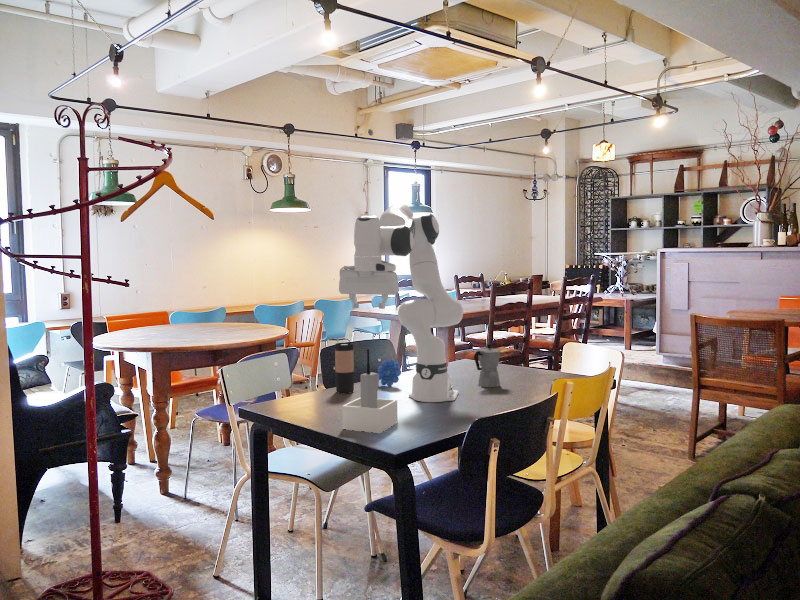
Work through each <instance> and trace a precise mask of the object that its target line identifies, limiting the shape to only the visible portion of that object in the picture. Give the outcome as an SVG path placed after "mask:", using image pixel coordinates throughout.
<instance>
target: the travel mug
mask: <svg viewBox="0 0 800 600" xmlns="http://www.w3.org/2000/svg"><path fill="white" fill-rule="evenodd" d="M334 354H335V355H334V365H335V369H334V370H335V371H334V373H335V391H337V392H339V393H338V394H341V393H347V394H350V393H349V392H352V393H354V392H355V390H354V389H355V388H354V387H355V363H354V362H355V361H354V357H355V356H354V354H355V353H354V343H351V342H337V343H334ZM353 391H354V392H353ZM337 392H336V393H337Z"/></svg>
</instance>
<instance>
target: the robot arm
mask: <svg viewBox="0 0 800 600" xmlns="http://www.w3.org/2000/svg"><path fill="white" fill-rule="evenodd" d="M354 222H355V223H354V232H353V245H354V248H355V251H354V255H353V257H354V259H353V260H354V261H353V262H354V265H343V267H341V268H340V269H339V283H338V292H339V293H340V294H341V295H348V298H349V300H350V302H351V303H352V306H351V307H352V309H359V308H360V305H359V302H357V300H356V296H357V295H377V296H378V295H379V296H380V295H381V298H382V300H381V301H380V302H379V303H378V309H379V310H385V309H386V303H387V300H388V299H389V296H390V295H391V296H394V295H397V294H398V292H399V277H398V274H397V273H396V272H395V271H396V268H397V266H396V264H394V263H391V262H388V261H385V260H383V259H382V256H397V257H398V256H399V257H407V256H408V255H409V269H410V270H409V271H410V276H411V277H410V278H411V284H412V287H413V288H414V290H415V291H416V292H417V293H419V294H421V295H423V296H425V297H426V298H425V299H412V300H407V301H403V302H402V303H401V304H400V306H399V308H398V310H397V317H398V320H399V323H400V325H402V326H403V327H404V328H406V329H407V330H408V331H409V333H410V334H411V335H412V337H413V339H414V341H415V347H416V363H415V374H414V375H413V376H412V389H411V393H409V394H408V398H409V399H410V398H411V399H413V400H415V401H418V402H423V403H440V402H441V403H442V402H449V401H450V402H451V401H455V400H456V399H457V397H458V395H459V389H455V388H454V381H453V378H452V377H451V375H450V374H449V373H448V367H449V361H446V344H445V341H444V340H443V339H442V338H440V337H438V336H436V335H434V334H433V333H432V330H431V328H442V327H443V328H447V327H451V326H456V325H458V324H459V323H460V322H461V321H462V320H463V316H464V308H463V306H462V304H461V302H460V301H459V300H458V299H456V298H455V297H453V296H451V294H450V293H448V291H447V290H446V289H445V287H444V285H443V283H442V279H441V276H440V272H439V266H438V265H439V264H438V260H437V255H436V253H435V249H434V247H433V245H434V244H435V243H436V240H437V239H438V237H439V234H440V226H439V222H438V220H437V218H436V217H435V216H434V215H433V214H432V213H423V214H421V215H416V216H414V212H413V210H412V209H411V208H410V207H409V206H408V205H406V204H404V203H398V204H393V205H392V206H390V207H388V208H387V209H386V210H384V212H383V213H382V214H381V215H380V218H379V216H377V215H361V216H358V217H357V218H355V221H354Z"/></svg>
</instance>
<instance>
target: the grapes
mask: <svg viewBox="0 0 800 600" xmlns="http://www.w3.org/2000/svg"><path fill="white" fill-rule="evenodd" d="M377 373H378V374H379V381H380V384H381V386H387V387H389V386H390V387H392V386H393V385H394V384H397V383H398V382H399V377H400V376H401V374H402V371H401V369H400V363H399V362H395V359H393V358H389V360H383V361H382V362H381V365H379V366H378V367H377Z"/></svg>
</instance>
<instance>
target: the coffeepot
mask: <svg viewBox="0 0 800 600" xmlns="http://www.w3.org/2000/svg"><path fill="white" fill-rule="evenodd" d="M486 346H487V347H486V348H482V349H479V350H476V351H475V353H474V355H473V358H474V359H473V360H474V362H475V366H476V370H478V371H480V373H479V377H478V386H479V387H480V386H481V387H480V388H485V387H489V388H490V387H495V388H499V387H500V385H501V383H500V376H499V371H498V366H499V363H500V358H501V357H500V356H501V350H500V349H496V348H491V347H492V345H491V343H488V344H486ZM498 386H499V387H498ZM490 389H491V388H490Z"/></svg>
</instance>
